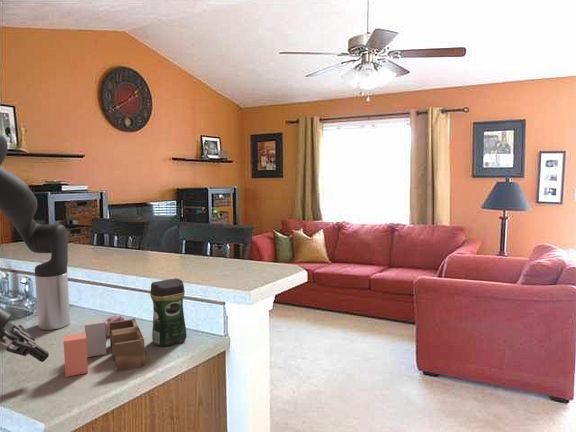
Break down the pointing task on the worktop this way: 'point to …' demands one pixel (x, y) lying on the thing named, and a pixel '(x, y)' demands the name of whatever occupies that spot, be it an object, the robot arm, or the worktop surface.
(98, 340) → the light grey block
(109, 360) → the worktop surface
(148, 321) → the worktop surface
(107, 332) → the video game controller
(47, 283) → the robot arm
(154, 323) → the coffee jar
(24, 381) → the worktop surface
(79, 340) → the salmon orange block
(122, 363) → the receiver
